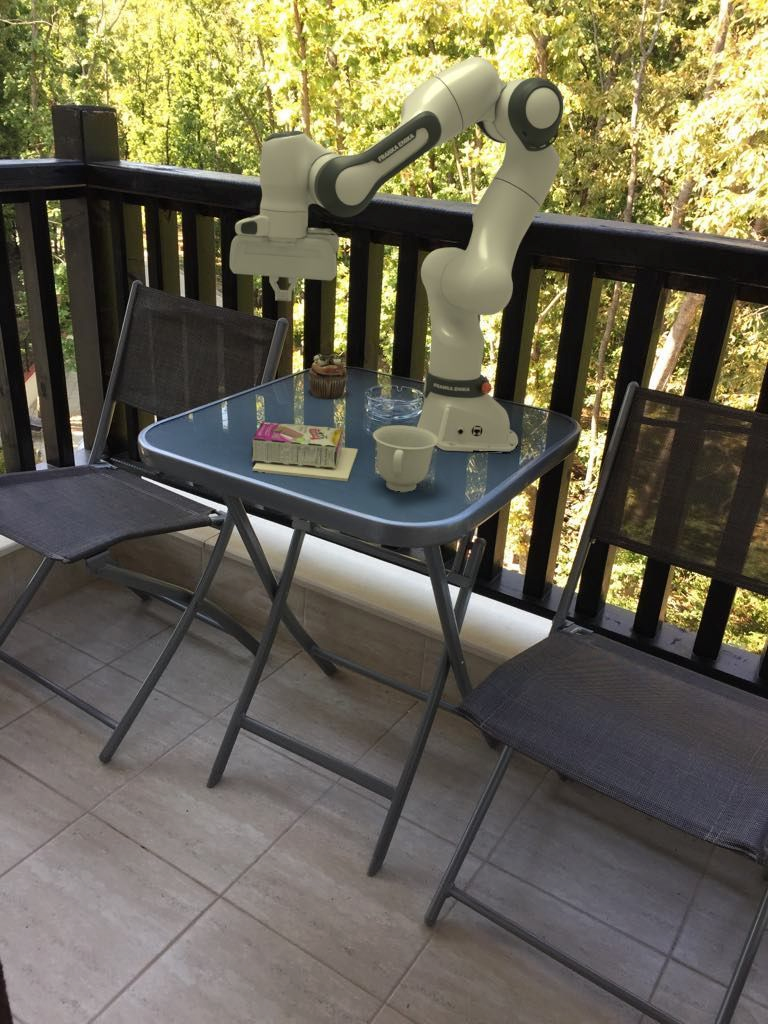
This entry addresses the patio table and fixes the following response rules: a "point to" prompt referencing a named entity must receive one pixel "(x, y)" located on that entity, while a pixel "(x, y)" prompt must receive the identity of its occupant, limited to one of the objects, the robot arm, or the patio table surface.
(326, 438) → the candy bar box
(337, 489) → the patio table surface
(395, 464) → the teacup
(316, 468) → the plain beige board
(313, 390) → the cupcake
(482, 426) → the robot arm
